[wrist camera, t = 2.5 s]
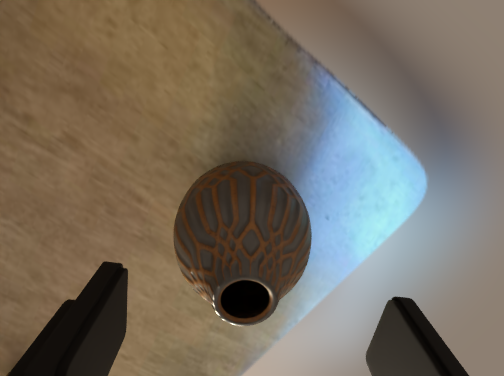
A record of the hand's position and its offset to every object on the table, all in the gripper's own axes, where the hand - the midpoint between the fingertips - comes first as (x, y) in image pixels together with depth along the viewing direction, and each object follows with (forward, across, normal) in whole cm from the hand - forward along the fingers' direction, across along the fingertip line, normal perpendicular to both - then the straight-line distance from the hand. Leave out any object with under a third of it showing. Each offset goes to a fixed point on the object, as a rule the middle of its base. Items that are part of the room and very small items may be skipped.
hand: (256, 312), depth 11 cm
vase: (+9, +1, 0) cm, 9 cm away
